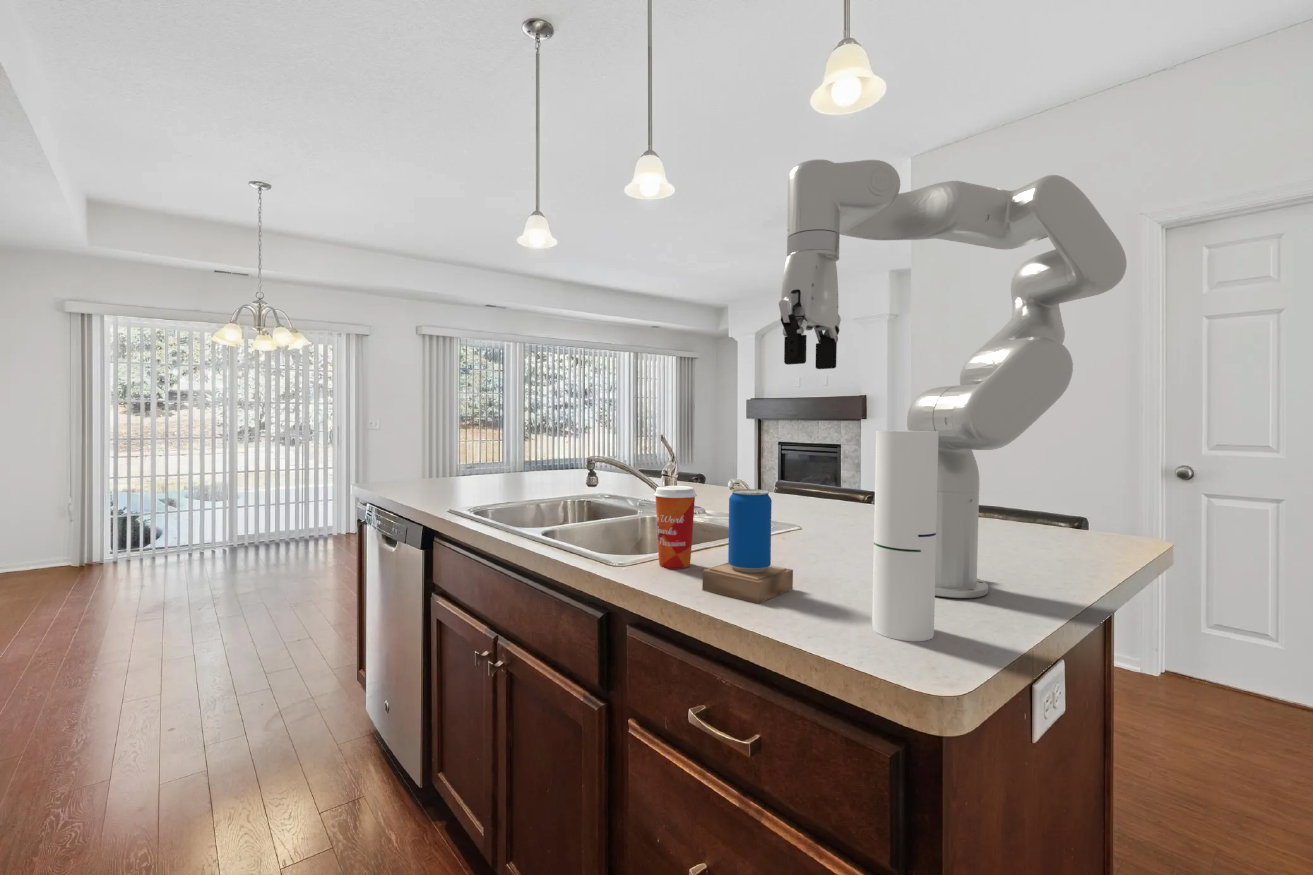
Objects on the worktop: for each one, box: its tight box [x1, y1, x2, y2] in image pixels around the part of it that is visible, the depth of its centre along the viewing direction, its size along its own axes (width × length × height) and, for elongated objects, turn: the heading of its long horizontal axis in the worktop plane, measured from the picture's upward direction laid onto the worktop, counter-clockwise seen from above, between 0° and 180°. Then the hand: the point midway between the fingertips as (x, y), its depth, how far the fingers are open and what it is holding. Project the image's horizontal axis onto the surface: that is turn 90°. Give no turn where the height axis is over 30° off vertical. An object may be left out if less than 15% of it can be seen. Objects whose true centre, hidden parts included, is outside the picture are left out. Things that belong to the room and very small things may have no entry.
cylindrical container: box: [871, 430, 939, 642], centre depth 74 cm, size 7×7×25 cm
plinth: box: [701, 562, 794, 604], centre depth 92 cm, size 10×10×3 cm
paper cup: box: [653, 485, 697, 570], centre depth 106 cm, size 8×8×14 cm
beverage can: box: [727, 488, 773, 573], centre depth 91 cm, size 6×6×12 cm
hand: (811, 366), depth 88 cm, fingers open, 9 cm apart
